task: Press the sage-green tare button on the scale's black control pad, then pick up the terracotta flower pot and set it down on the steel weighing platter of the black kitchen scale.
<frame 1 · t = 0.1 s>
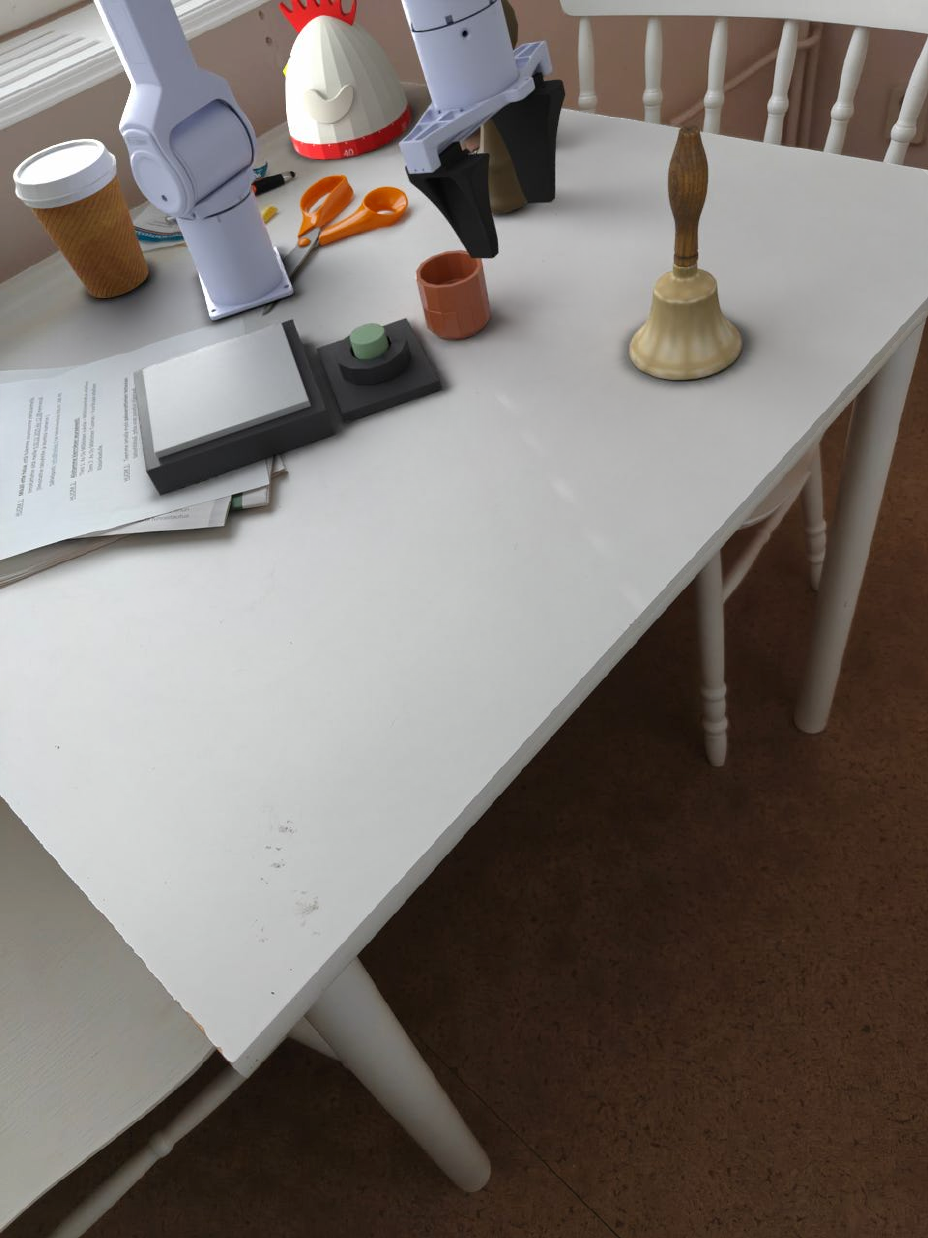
hand: (513, 227, 65), 10 cm above the table, tool pointing down, fingers open, 7 cm apart
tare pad: (378, 372, 75), on the table
scale: (235, 413, 75), on the table
terracotta flower pot: (459, 323, 78), on the table
tare button: (369, 341, 73), point 3 cm above the table, slide at 0.1 cm
hand bell: (684, 350, 70), on the table
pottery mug: (502, 148, 98), on the table
kendama: (504, 206, 89), on the table
disposable coffee cup: (119, 282, 93), on the table
kitchen timer: (352, 132, 107), on the table
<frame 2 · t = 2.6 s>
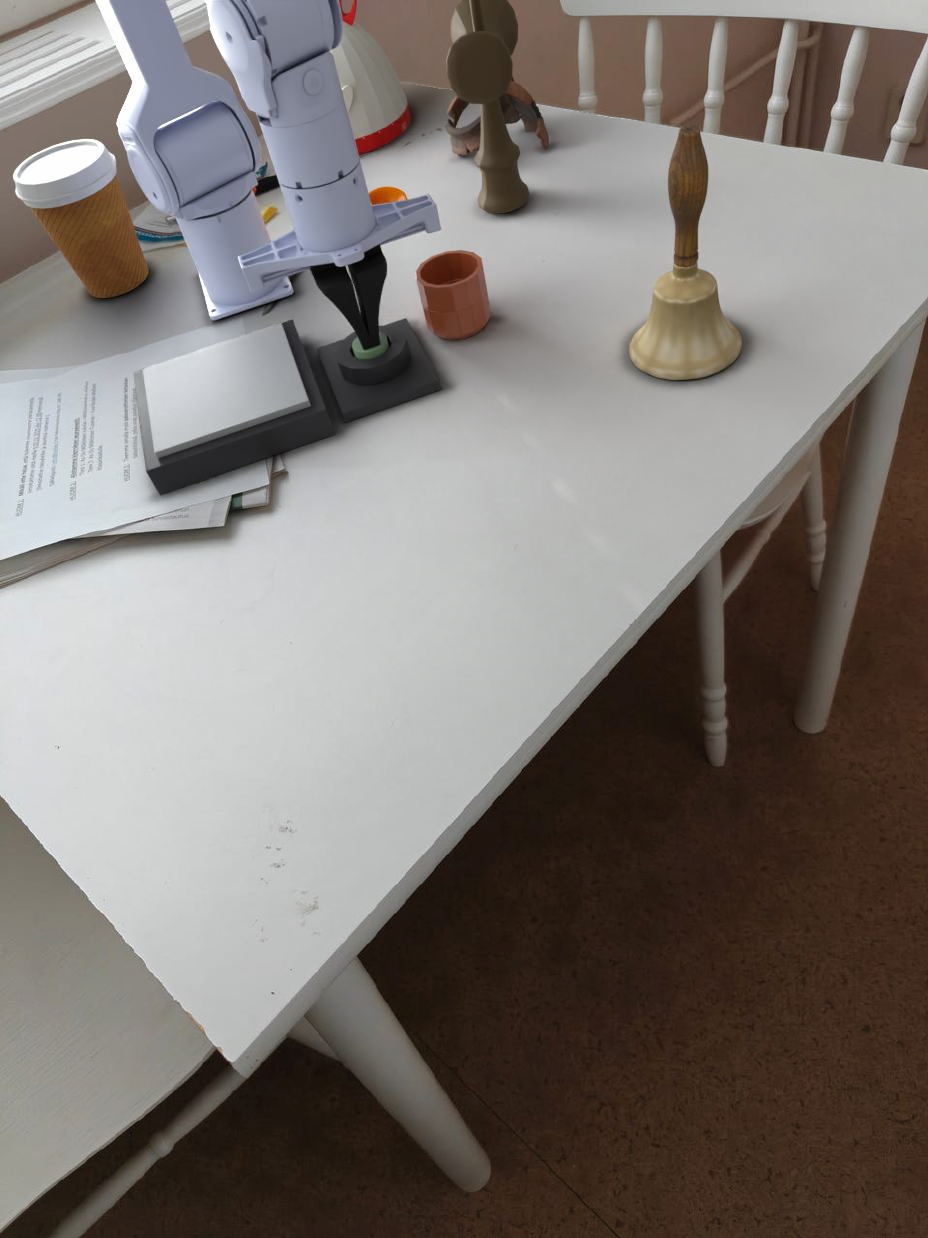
hand: (369, 341, 73), 3 cm above the table, tool pointing down, fingers closed, pressing on tare button
tare button: (371, 349, 73), point 2 cm above the table, slide at -0.6 cm, touching gripper
everything else where it was.
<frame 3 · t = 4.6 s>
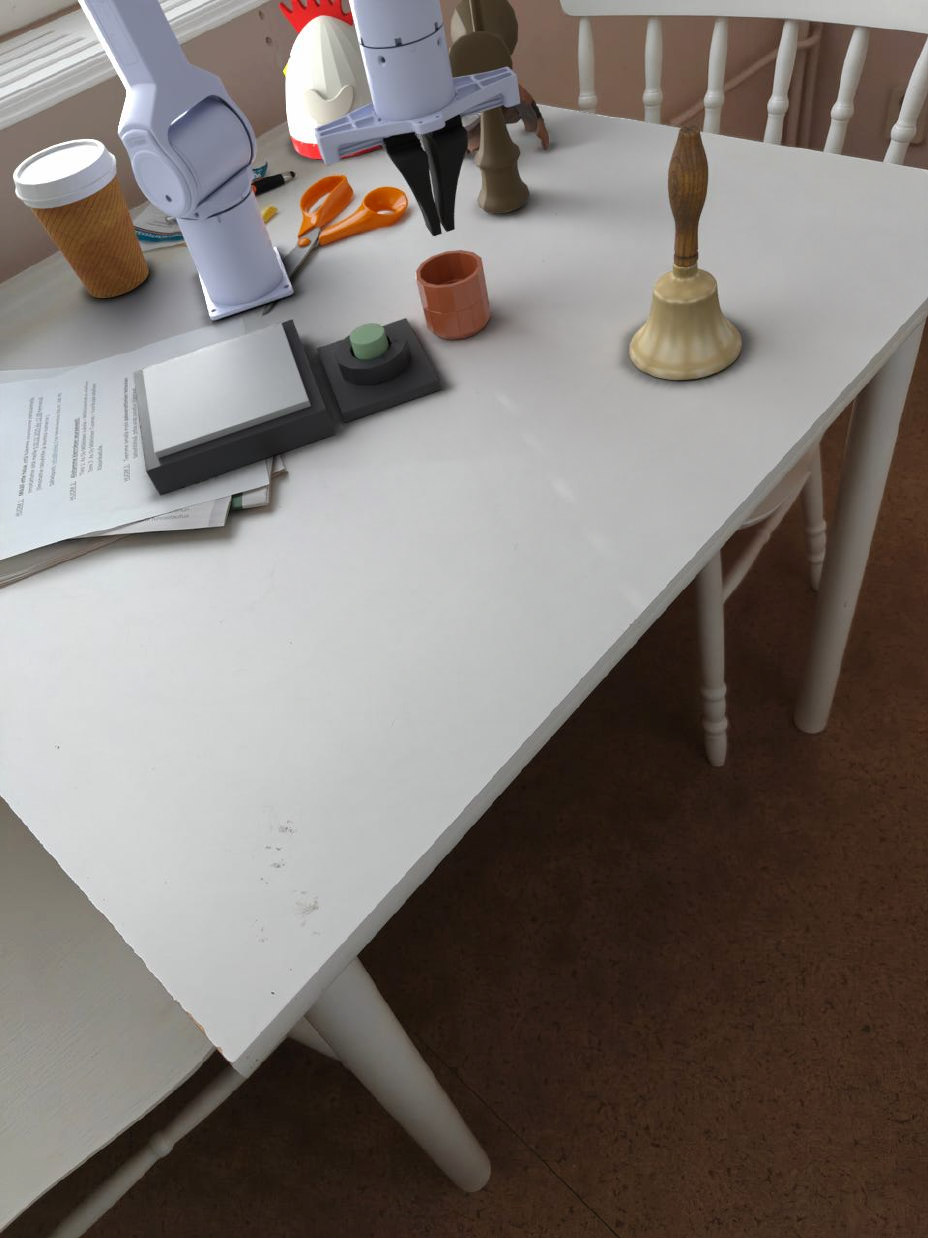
hand: (440, 227, 71), 8 cm above the table, tool pointing down, fingers closed
tare button: (369, 341, 73), point 3 cm above the table, slide at 0.1 cm
everything else where it was.
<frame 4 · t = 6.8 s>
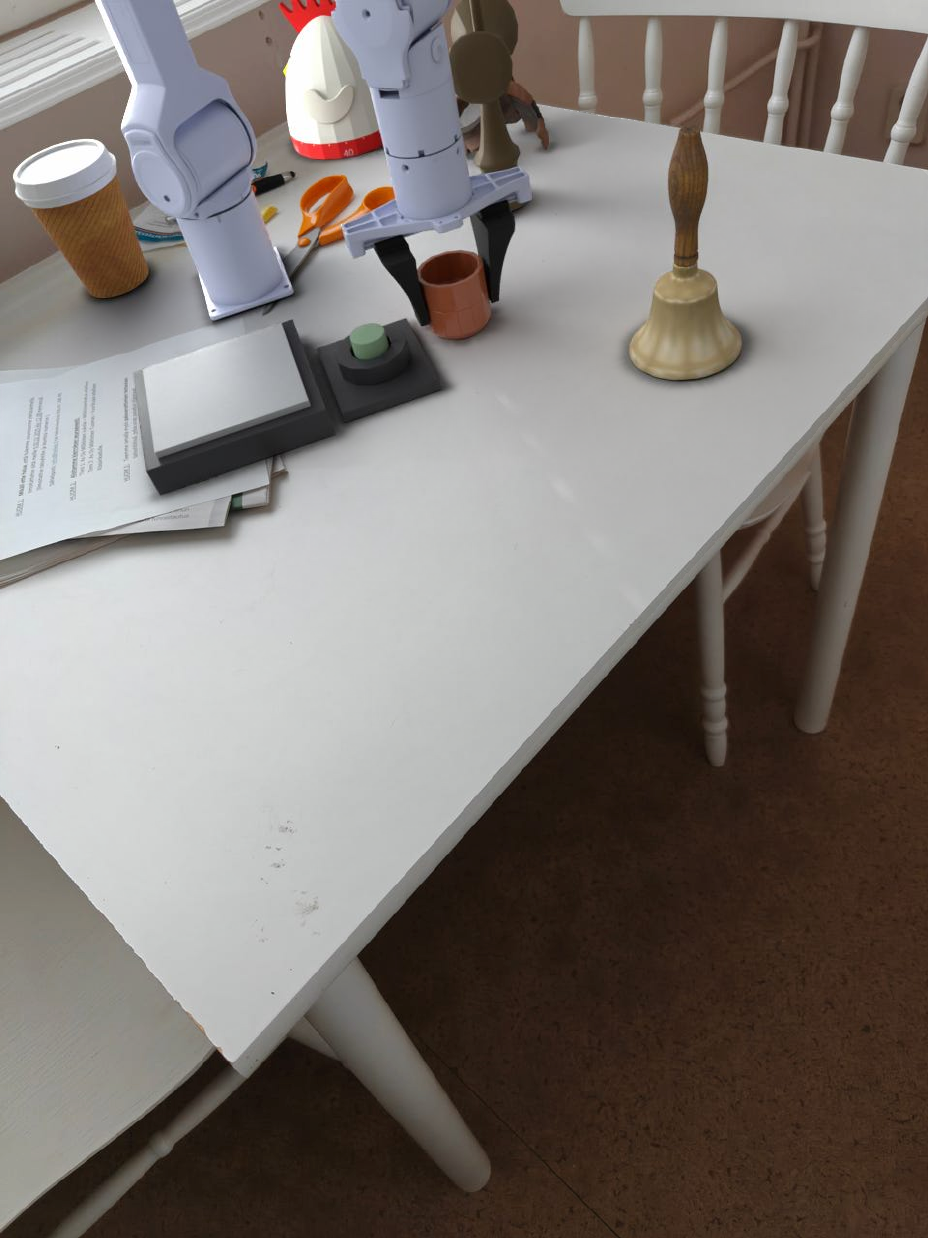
hand: (456, 308, 77), 1 cm above the table, tool pointing down, fingers closed on terracotta flower pot, 5 cm apart
terracotta flower pot: (460, 322, 78), on the table, touching gripper
everything else where it was.
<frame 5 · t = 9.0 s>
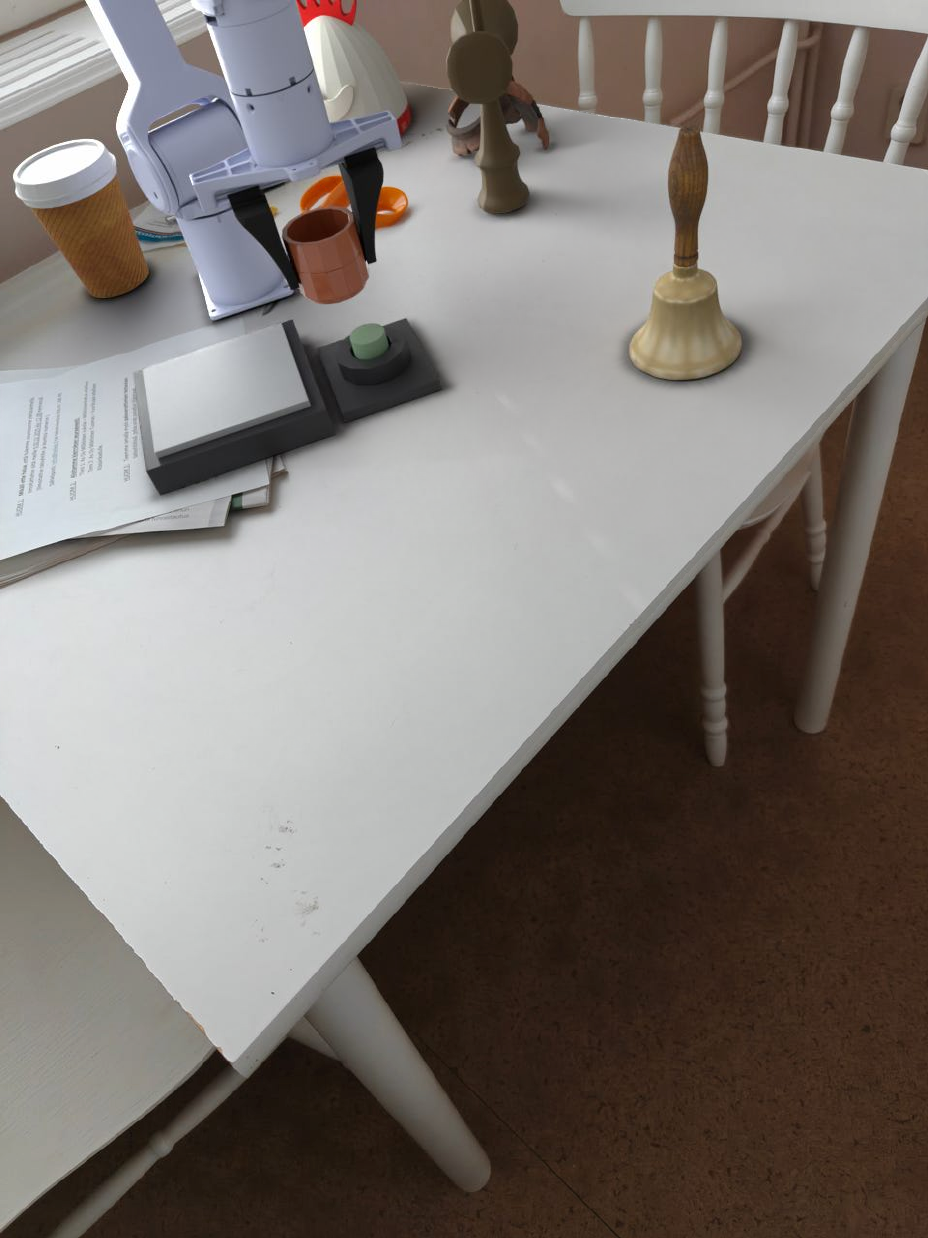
hand: (330, 270, 70), 8 cm above the table, tool pointing down, fingers closed on terracotta flower pot, 5 cm apart
terracotta flower pot: (336, 286, 71), point 7 cm above the table, touching gripper
everything else where it was.
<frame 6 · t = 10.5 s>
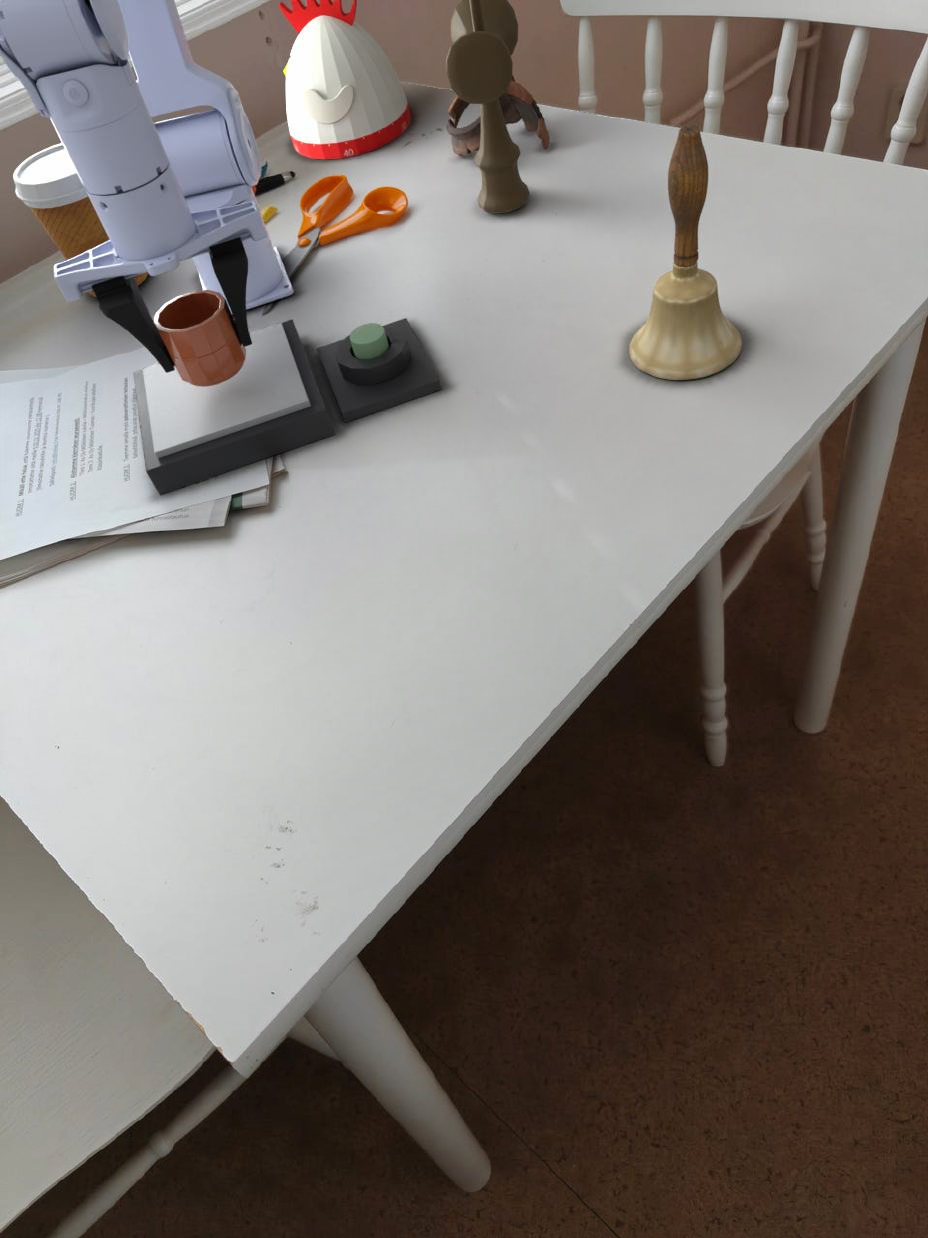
hand: (207, 352, 70), 6 cm above the table, tool pointing down, fingers closed on terracotta flower pot, 5 cm apart
terracotta flower pot: (214, 367, 71), point 4 cm above the table, touching gripper
everything else where it was.
when the fingers open (4 cm above the table, at t = 11.6 s): terracotta flower pot stays where it is, resting on scale.
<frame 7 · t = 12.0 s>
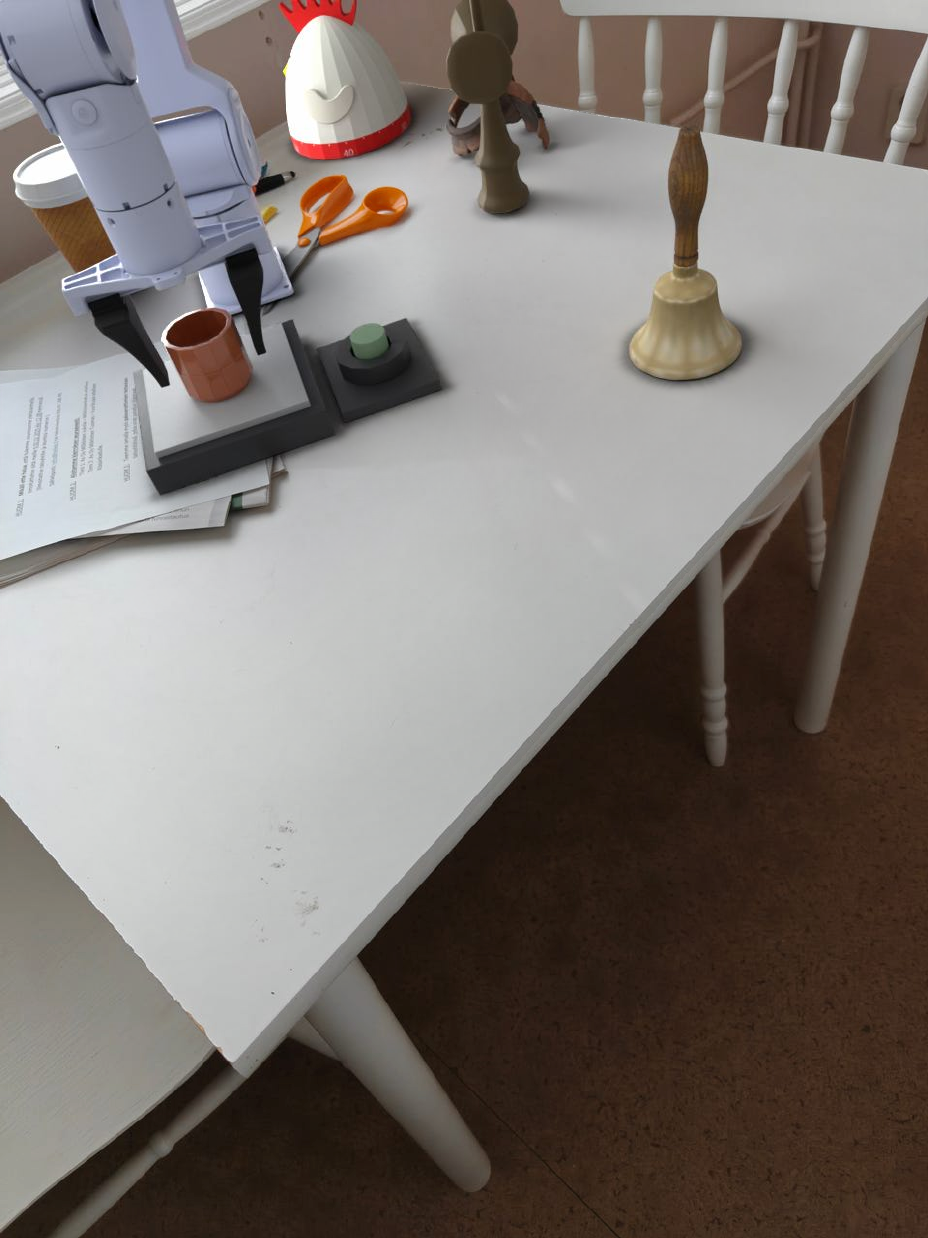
hand: (212, 363, 71), 5 cm above the table, tool pointing down, fingers open, 7 cm apart
terracotta flower pot: (221, 383, 73), point 3 cm above the table, touching scale
everything else where it was.
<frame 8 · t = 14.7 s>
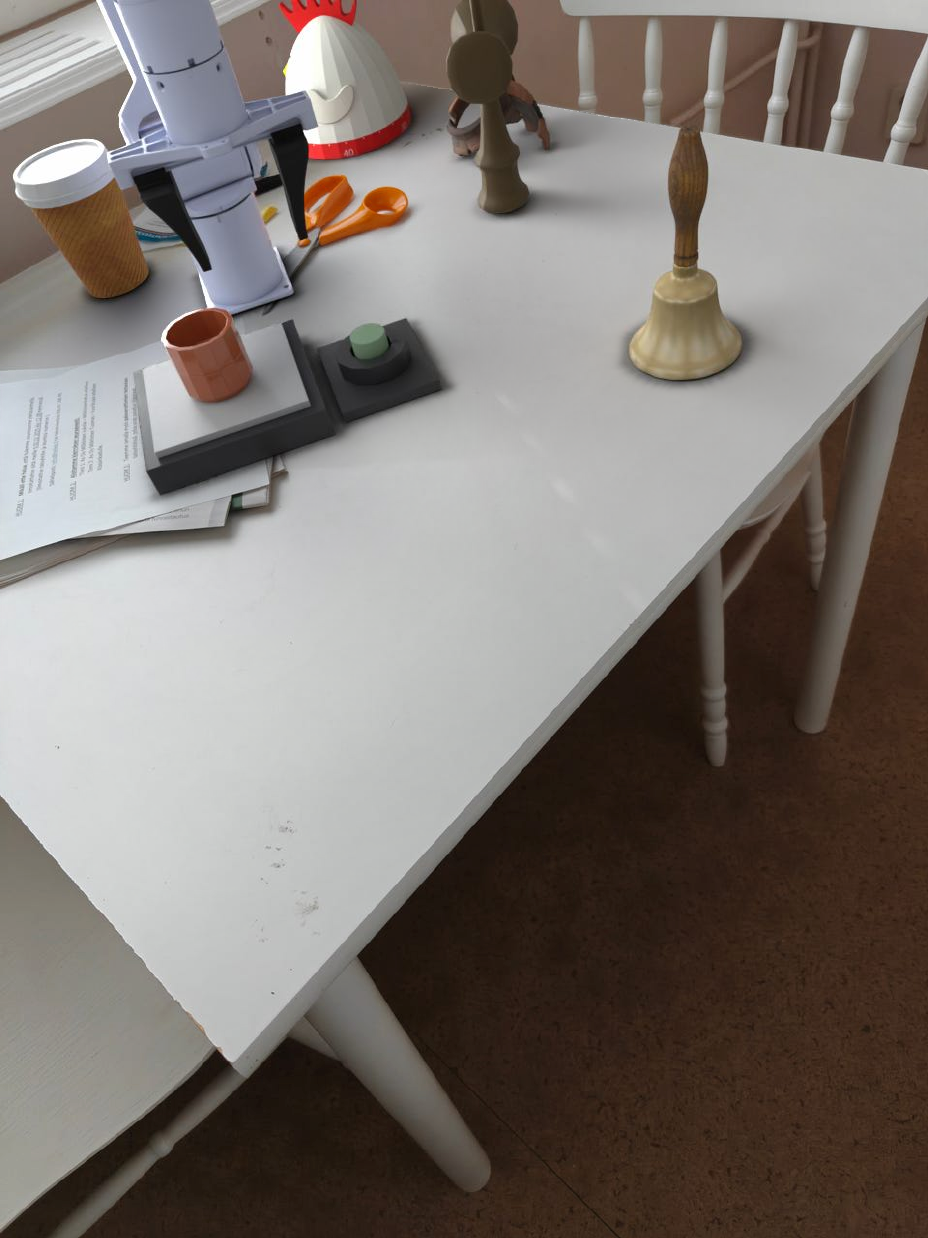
hand: (254, 249, 71), 10 cm above the table, tool pointing down, fingers open, 7 cm apart
nothing on the table moved.
at the end: tare button pushed in 1.0 cm at the most during the clip, back to where it started at the end; terracotta flower pot inside the target area on the scale (0.1 cm from its centre), point 3.0 cm above the scale's base; terracotta flower pot tilted 0° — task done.
